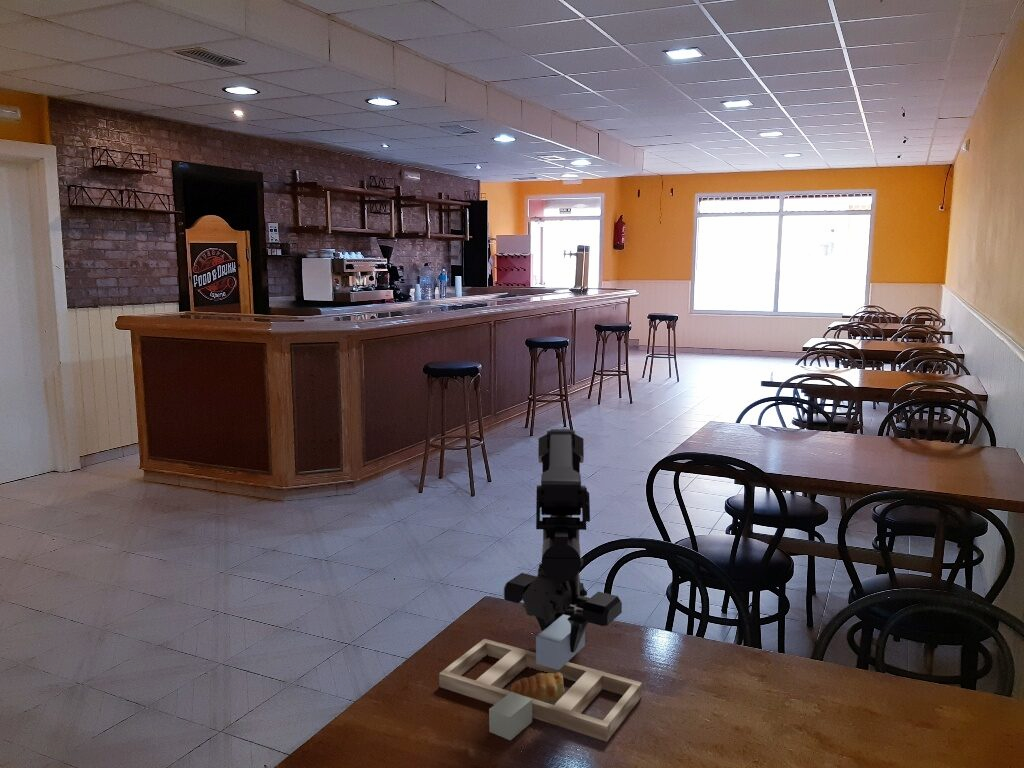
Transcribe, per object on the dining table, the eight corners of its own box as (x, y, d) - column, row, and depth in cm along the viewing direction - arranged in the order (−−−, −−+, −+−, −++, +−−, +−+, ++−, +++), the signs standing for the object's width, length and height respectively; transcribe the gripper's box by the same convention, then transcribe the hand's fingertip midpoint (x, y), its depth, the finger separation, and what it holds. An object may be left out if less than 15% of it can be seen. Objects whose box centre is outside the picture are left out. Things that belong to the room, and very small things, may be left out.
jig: (484, 650, 147) (484, 638, 147) (641, 696, 131) (642, 682, 131) (439, 686, 135) (439, 673, 135) (606, 741, 119) (606, 726, 119)
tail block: (511, 714, 127) (511, 691, 126) (532, 722, 125) (532, 699, 124) (489, 732, 122) (489, 708, 122) (510, 741, 120) (509, 717, 119)
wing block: (563, 639, 131) (563, 614, 130) (584, 645, 129) (584, 619, 128) (536, 663, 123) (535, 636, 122) (558, 670, 121) (558, 643, 120)
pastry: (511, 709, 128) (510, 687, 128) (508, 687, 135) (508, 667, 134) (567, 706, 129) (567, 685, 128) (562, 685, 136) (562, 664, 135)
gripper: (483, 560, 122) (485, 654, 124) (590, 586, 112) (590, 687, 114) (521, 538, 131) (522, 626, 133) (623, 561, 121) (622, 655, 123)
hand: (561, 648), depth 126 cm, fingers closed on wing block, 4 cm apart
